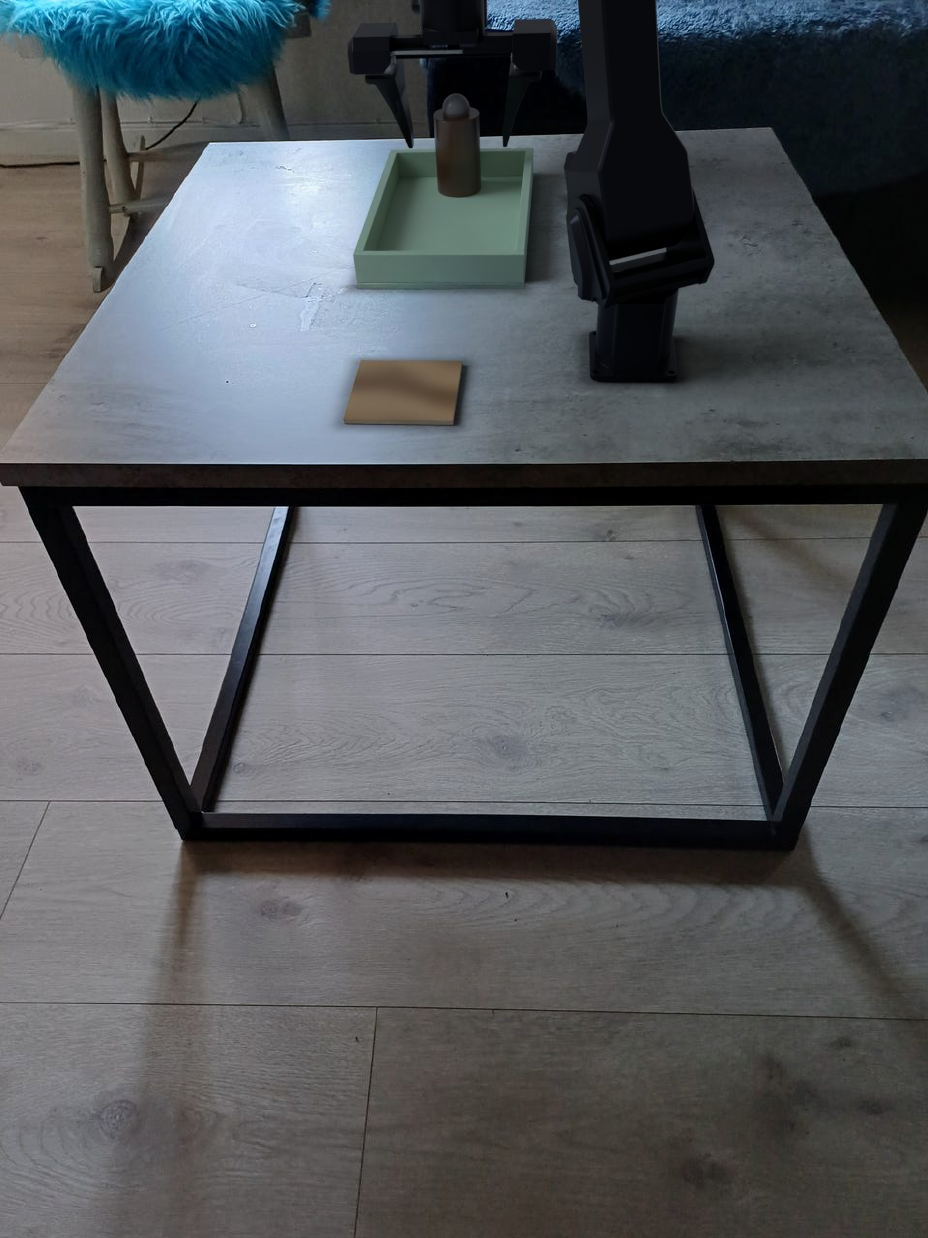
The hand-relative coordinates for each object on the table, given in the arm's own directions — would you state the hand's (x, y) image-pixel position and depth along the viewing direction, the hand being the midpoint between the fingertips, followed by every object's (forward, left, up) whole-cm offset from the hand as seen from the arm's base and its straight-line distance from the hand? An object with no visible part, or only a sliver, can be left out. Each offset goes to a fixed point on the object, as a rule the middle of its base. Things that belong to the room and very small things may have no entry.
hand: (458, 146), depth 91 cm
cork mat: (-36, +1, -5) cm, 36 cm away
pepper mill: (0, 0, -4) cm, 4 cm away
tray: (-8, 0, -5) cm, 9 cm away
